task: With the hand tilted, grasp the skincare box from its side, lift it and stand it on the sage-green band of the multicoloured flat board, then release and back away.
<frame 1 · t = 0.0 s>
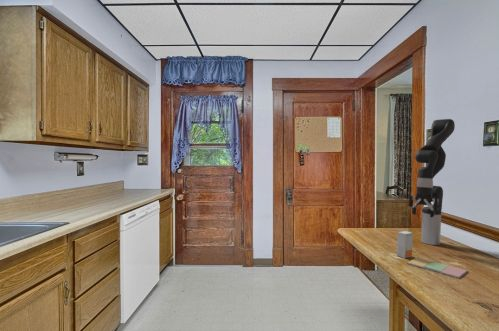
hand: (422, 216, 155), 17 cm above the table, tool pointing down, fingers open, 8 cm apart
skincare box: (404, 256, 140), on the table
multicoloured flat board: (436, 267, 126), on the table
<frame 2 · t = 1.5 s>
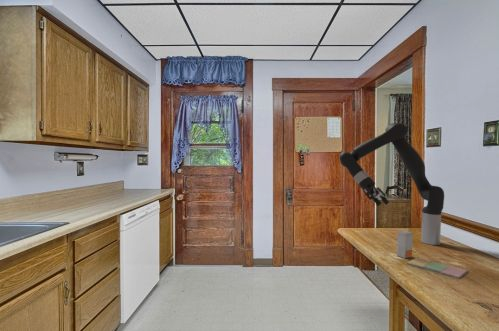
hand: (383, 204, 149), 24 cm above the table, tool tilted 45°, fingers open, 8 cm apart
nothing on the table moved.
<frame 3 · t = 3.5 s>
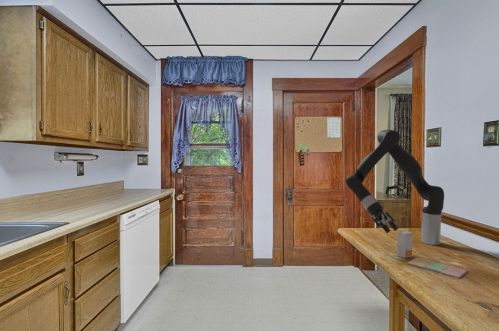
hand: (392, 230, 145), 11 cm above the table, tool tilted 45°, fingers open, 8 cm apart
nothing on the table moved.
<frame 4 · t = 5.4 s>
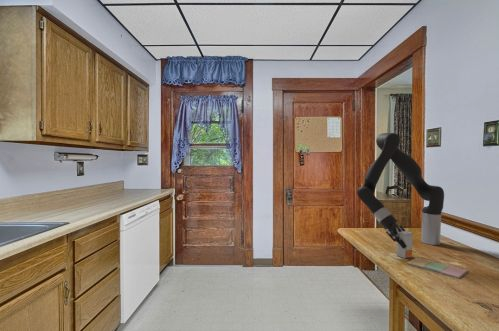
hand: (408, 246, 139), 5 cm above the table, tool tilted 45°, fingers closed on skincare box, 6 cm apart
skincare box: (404, 256, 140), on the table, touching gripper
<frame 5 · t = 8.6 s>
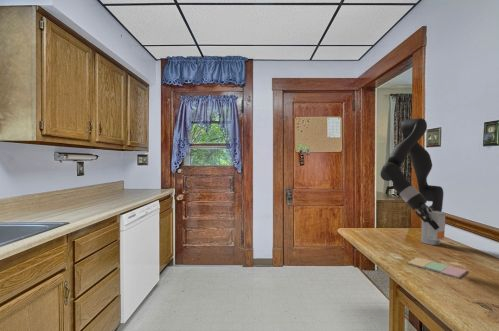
hand: (440, 227, 125), 18 cm above the table, tool tilted 45°, fingers closed on skincare box, 6 cm apart
skincare box: (435, 239, 126), point 13 cm above the table, touching gripper
when the fingers open (7 cm above the table, at t = 11.3 s): skincare box drops 1 cm, resting on multicoloured flat board.
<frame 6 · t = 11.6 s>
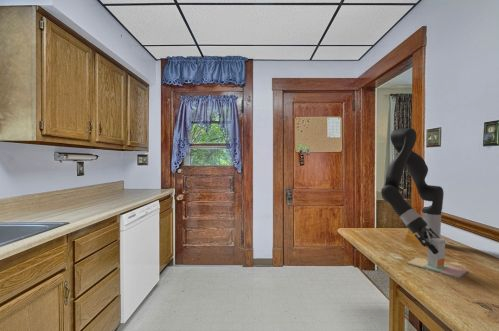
hand: (440, 251, 125), 8 cm above the table, tool tilted 45°, fingers open, 8 cm apart
skincare box: (435, 266, 126), resting on multicoloured flat board
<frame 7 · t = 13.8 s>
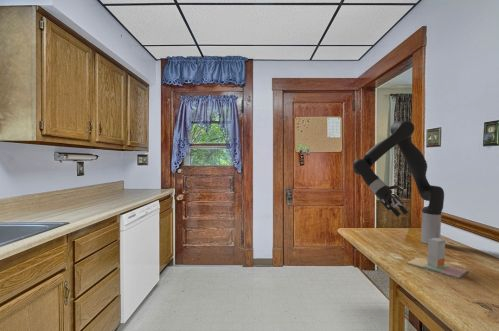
hand: (403, 214, 141), 21 cm above the table, tool tilted 45°, fingers open, 8 cm apart
nothing on the table moved.
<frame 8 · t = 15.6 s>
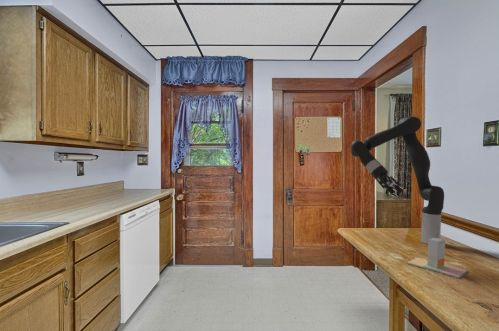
hand: (397, 192, 146), 31 cm above the table, tool tilted 45°, fingers open, 8 cm apart
nothing on the table moved.
at the end: skincare box inside the target area (0.3 cm from its centre), point 0.5 cm above the table; skincare box tilted 0°; the gripper is holding nothing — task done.
